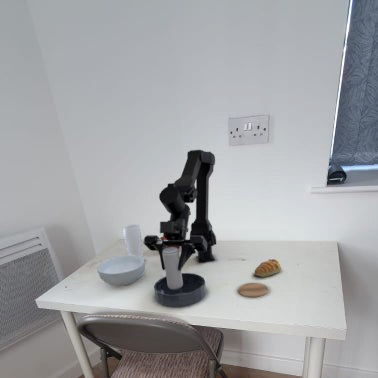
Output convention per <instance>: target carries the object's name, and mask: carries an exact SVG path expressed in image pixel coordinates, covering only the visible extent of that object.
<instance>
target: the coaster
mask: <svg viewBox="0 0 378 378" xmlns="http://www.w3.org/2000/svg"><path fill="white" fill-rule="evenodd" d="M268 288H269V287H267V285H265V284H263V283H258V282H248V283H245V284H242V285H241V286H239V287H238V293H239V295H241V296H243V297H247V298H259V297H262V296H265V295H266V294H268V292H269V291H268V290H269V289H268Z"/></svg>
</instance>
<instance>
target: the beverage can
mask: <svg viewBox="0 0 378 378" xmlns="http://www.w3.org/2000/svg"><path fill="white" fill-rule="evenodd" d="M162 254H163V261H164V266H165V270H164V271H165V276H166V278H167V284H168V288H169V289H172V290H177V289H180V288H181V287H182V286H183V280H182V273H183V271H182V269H181V270H180V271H179V270H178V264H179V260H180V251H179V249H178V248H175V247H170V248H166V249H164V250H163V253H162Z"/></svg>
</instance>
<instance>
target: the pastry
mask: <svg viewBox="0 0 378 378" xmlns="http://www.w3.org/2000/svg"><path fill="white" fill-rule="evenodd" d="M281 270H282V266H281V264H280V263H279V260H277V259H274V258H271V259H270V258H269V259H268V260H266V261H262V262H261V263H260V264H259V265H258V266H257V267H256V268H255V270H254V275H255V276H258V277H261V278H265V277H270V276H273V275H276V274H278V273H280V271H281Z"/></svg>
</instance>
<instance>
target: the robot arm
mask: <svg viewBox="0 0 378 378" xmlns="http://www.w3.org/2000/svg"><path fill="white" fill-rule="evenodd" d="M186 156H187V157H186V158H187V159H186V161H185V163H184V167H183V170H182V173H181V176H180V177H179V178H178V179H176V180H175V181H174V182H172V183H167V186H166V187H164V188H163V189H162V190H161V191H160V193H158V198H159V201H160V203H161V204H162V205H163V207H164V208H165V210H166V211H167V212H168V214H170V216H169V220H167V221H159V234H163V235H162V237H163V236H164V237H166V238H167V239H166V240H163V239H160V238H161V237H159V236H158V235H155V234H154V235H153V234H151V235H149V234H148V235H146V236H144V237H143V241H142V244H143V245H144V246H145V247H146V248H147V249H148V250H149V251H152V252H153V251H155V252H158V255H159V258H160V260H159V261H160V266H161V269H162V271H165V266H164V261H163V254H162V253H163V250H164V249H166V247H167V246H180V254H179V257H180V260H179V264H178V270H179V271H180V270H181V271H182V269H183V268H184V266H185V265H186V263H187V262H188V261H189V260H190V258H191V257H192V256H193V255H195V254H196V252H197V255H196V256H195V258H196V260H197V262H198V263H206V262H213V261H215V260H216V259H215V256H214V255H213V247H214V246H216V245H217V236H216V233H215V232H214V230H213V225H212V223H211V221H210V220H209V197H210V196H209V195H210V193H209V191H210V184H209V183H210V177H211V176H212V175H213V173H214V167H215V165H216V156H215V154H214V153H213V152H211V151H205V150H203V149H192V150H191V149H190V150H189V151H187V154H186ZM194 202H195V219H194V220H193V222H191V224H190V232H189V227H188V226H189V219H190V216H191V215H192V213H191V207H190V206H189V205H188V204H193V203H194ZM188 233H189V239H187V234H188Z"/></svg>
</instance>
